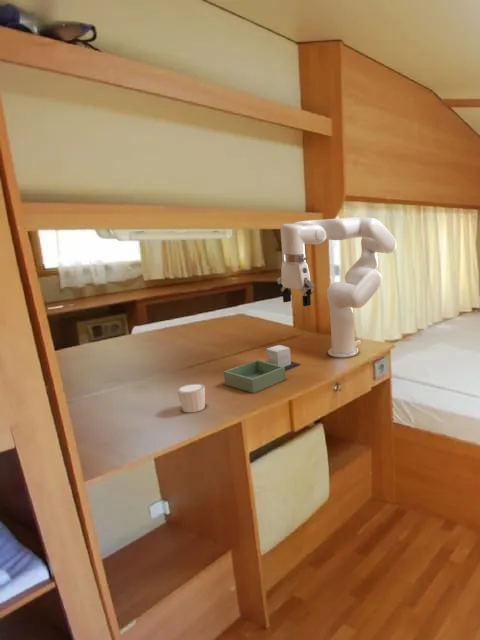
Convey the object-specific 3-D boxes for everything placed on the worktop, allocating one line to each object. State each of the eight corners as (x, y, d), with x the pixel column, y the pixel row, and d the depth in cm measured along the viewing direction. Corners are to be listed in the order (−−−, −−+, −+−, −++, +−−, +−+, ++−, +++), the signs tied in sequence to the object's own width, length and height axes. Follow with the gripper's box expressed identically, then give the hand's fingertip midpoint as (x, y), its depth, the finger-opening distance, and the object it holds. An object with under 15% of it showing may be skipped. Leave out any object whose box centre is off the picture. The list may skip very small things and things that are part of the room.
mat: (280, 359, 175) (280, 359, 174) (299, 364, 171) (299, 363, 171) (259, 367, 166) (259, 366, 165) (278, 372, 162) (278, 371, 162)
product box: (267, 365, 167) (265, 348, 165) (280, 361, 172) (279, 344, 170) (278, 369, 164) (276, 351, 162) (291, 364, 170) (290, 347, 168)
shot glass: (201, 413, 130) (198, 392, 128) (176, 413, 128) (172, 392, 126) (211, 403, 136) (208, 383, 134) (186, 403, 135) (183, 383, 133)
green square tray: (258, 372, 162) (257, 359, 160) (285, 379, 157) (284, 367, 156) (224, 384, 149) (223, 371, 148) (253, 393, 145) (252, 379, 144)
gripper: (320, 260, 156) (322, 305, 161) (284, 255, 162) (287, 298, 167) (304, 262, 150) (307, 309, 155) (267, 256, 155) (271, 302, 160)
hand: (297, 303), depth 161 cm, fingers open, 9 cm apart
